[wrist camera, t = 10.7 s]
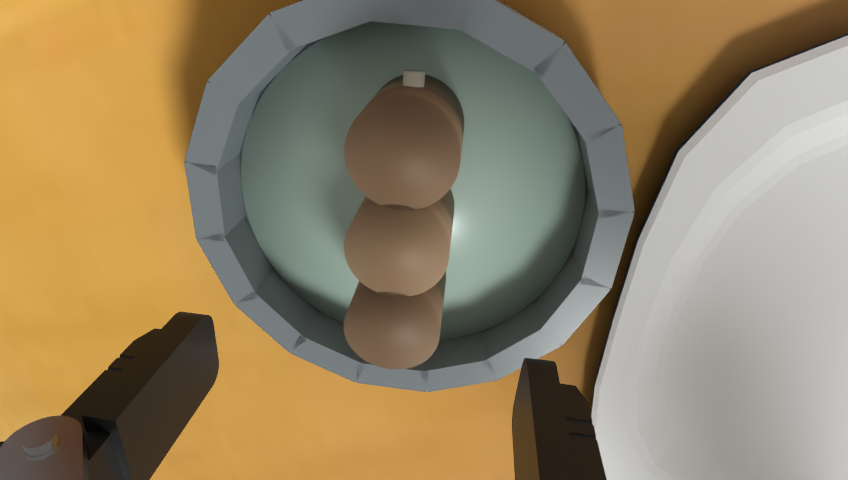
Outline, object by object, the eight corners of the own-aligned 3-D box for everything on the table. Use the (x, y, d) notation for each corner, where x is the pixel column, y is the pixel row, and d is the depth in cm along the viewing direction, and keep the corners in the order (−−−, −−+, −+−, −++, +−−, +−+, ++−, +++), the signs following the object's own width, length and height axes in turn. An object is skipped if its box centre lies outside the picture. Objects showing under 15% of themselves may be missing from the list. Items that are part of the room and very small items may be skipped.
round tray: (666, 2, 17) (697, 7, 15) (564, 368, 25) (573, 411, 23) (197, -41, 18) (153, -43, 16) (240, 326, 26) (215, 363, 23)
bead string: (471, 66, 18) (468, 90, 14) (441, 320, 23) (434, 382, 20) (370, 57, 18) (344, 77, 15) (363, 310, 23) (343, 370, 20)
